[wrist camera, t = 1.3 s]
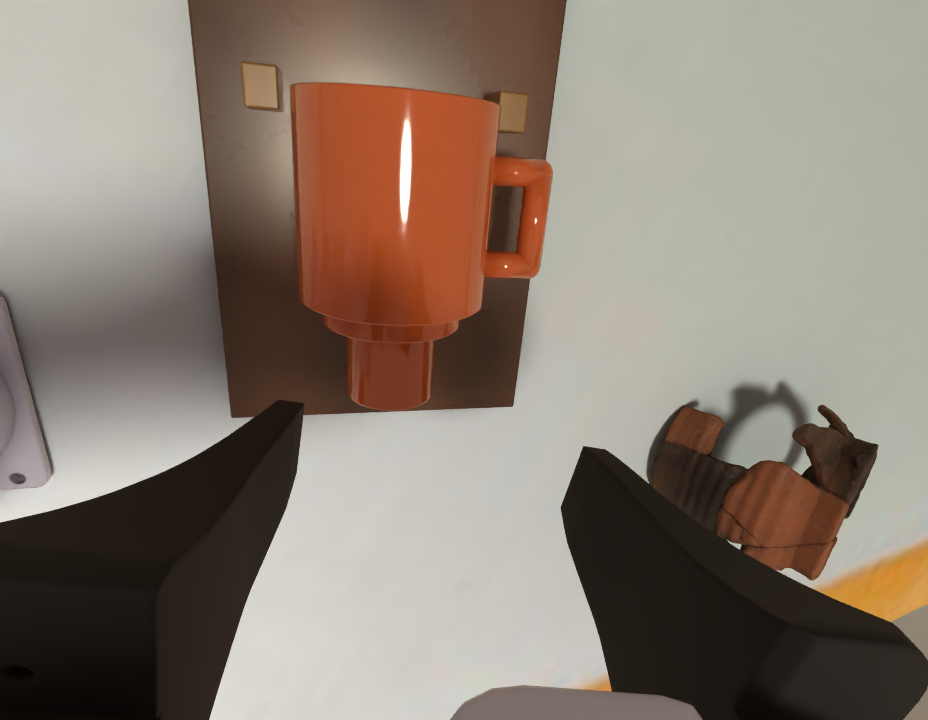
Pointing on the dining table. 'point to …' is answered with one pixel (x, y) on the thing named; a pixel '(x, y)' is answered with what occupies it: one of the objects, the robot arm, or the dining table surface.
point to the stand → (272, 179)
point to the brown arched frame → (767, 490)
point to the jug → (402, 224)
